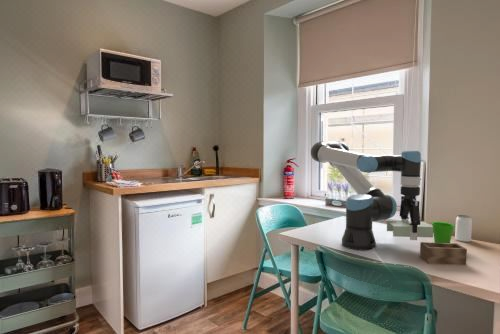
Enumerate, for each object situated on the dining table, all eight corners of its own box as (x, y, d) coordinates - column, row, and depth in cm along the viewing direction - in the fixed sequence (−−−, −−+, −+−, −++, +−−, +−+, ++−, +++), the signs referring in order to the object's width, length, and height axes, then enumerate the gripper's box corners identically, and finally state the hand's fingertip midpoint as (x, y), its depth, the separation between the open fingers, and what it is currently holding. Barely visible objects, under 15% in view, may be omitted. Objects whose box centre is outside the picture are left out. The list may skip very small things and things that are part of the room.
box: (427, 265, 120) (428, 247, 119) (419, 258, 126) (420, 242, 126) (466, 266, 118) (466, 249, 117) (456, 260, 125) (456, 243, 124)
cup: (432, 243, 146) (433, 220, 146) (454, 247, 141) (455, 223, 140) (428, 248, 139) (429, 224, 139) (452, 252, 134) (453, 227, 133)
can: (473, 242, 147) (474, 218, 146) (458, 241, 149) (459, 217, 148) (467, 238, 154) (468, 215, 153) (452, 237, 155) (453, 214, 154)
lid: (393, 236, 132) (393, 226, 132) (386, 230, 141) (386, 221, 140) (433, 237, 130) (433, 227, 130) (423, 231, 139) (423, 221, 139)
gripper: (431, 189, 123) (429, 244, 124) (409, 183, 144) (407, 230, 146) (411, 189, 124) (409, 243, 125) (392, 183, 145) (391, 229, 147)
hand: (408, 236), depth 135 cm, fingers closed on lid, 9 cm apart
